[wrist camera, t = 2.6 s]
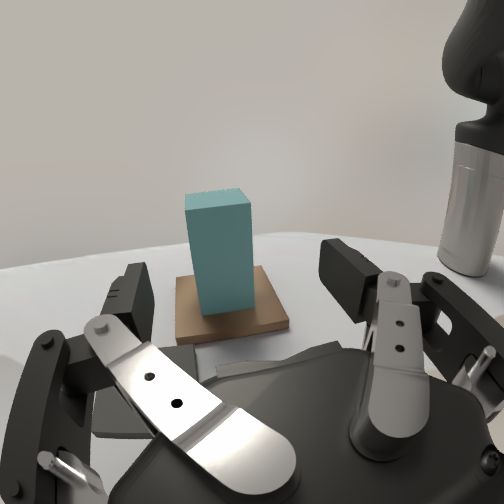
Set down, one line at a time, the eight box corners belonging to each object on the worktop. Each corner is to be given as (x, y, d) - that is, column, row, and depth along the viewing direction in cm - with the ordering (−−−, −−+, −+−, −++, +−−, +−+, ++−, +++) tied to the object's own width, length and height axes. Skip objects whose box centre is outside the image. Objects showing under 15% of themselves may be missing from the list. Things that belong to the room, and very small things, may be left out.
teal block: (244, 279, 30) (239, 188, 25) (255, 307, 25) (250, 202, 21) (198, 286, 29) (185, 194, 24) (201, 315, 24) (185, 210, 20)
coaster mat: (195, 351, 21) (193, 343, 21) (205, 434, 14) (203, 428, 14) (108, 359, 20) (104, 352, 20) (97, 437, 13) (90, 431, 13)
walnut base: (261, 272, 33) (260, 234, 30) (288, 327, 24) (291, 281, 22) (177, 284, 31) (170, 245, 29) (177, 345, 22) (164, 300, 20)
